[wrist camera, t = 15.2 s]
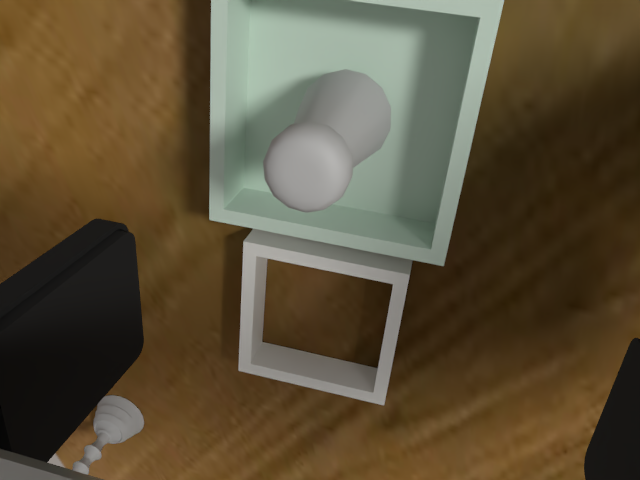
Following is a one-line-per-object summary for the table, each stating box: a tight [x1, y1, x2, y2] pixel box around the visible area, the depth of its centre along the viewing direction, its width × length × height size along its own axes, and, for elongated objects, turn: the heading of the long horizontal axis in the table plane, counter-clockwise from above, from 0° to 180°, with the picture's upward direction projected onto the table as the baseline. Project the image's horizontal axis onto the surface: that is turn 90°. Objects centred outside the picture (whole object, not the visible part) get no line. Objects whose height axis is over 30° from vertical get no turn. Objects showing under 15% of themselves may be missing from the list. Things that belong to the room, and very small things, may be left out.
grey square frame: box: [238, 229, 413, 405], centre depth 46 cm, size 12×12×3 cm
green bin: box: [209, 0, 504, 266], centre depth 37 cm, size 16×16×4 cm
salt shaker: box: [263, 69, 391, 213], centre depth 33 cm, size 6×6×13 cm
